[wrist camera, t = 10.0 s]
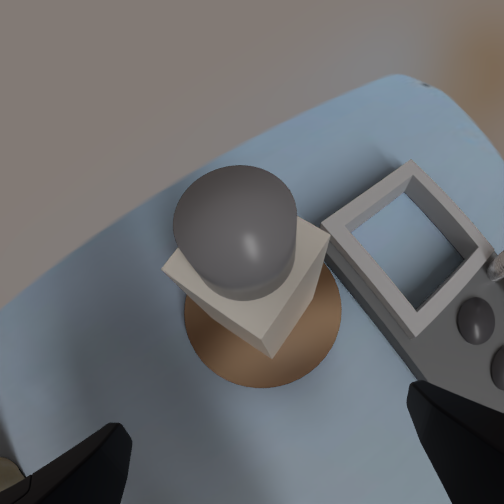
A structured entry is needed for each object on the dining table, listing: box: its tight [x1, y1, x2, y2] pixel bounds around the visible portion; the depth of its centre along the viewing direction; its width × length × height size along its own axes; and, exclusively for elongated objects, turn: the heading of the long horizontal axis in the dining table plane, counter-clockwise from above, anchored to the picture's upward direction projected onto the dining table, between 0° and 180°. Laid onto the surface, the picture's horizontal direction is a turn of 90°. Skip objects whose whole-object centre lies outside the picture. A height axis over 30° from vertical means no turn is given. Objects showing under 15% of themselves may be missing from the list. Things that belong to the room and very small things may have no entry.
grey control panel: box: [320, 159, 504, 413], centre depth 21 cm, size 21×12×3 cm, turn 35°
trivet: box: [184, 262, 341, 388], centre depth 23 cm, size 11×11×1 cm
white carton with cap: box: [161, 165, 331, 359], centre depth 16 cm, size 5×5×13 cm
